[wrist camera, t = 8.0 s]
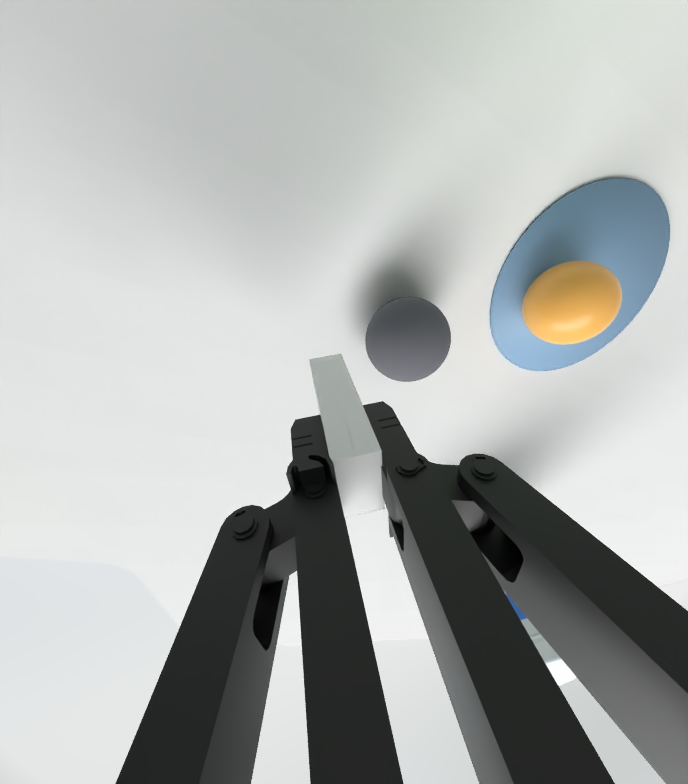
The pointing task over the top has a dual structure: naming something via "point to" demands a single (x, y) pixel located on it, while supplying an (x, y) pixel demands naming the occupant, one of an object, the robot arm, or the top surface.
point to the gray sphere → (408, 339)
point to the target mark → (582, 243)
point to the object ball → (572, 302)
